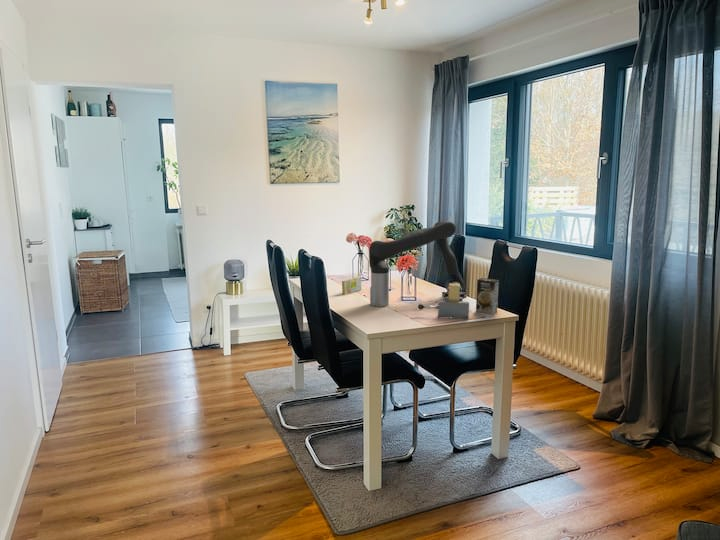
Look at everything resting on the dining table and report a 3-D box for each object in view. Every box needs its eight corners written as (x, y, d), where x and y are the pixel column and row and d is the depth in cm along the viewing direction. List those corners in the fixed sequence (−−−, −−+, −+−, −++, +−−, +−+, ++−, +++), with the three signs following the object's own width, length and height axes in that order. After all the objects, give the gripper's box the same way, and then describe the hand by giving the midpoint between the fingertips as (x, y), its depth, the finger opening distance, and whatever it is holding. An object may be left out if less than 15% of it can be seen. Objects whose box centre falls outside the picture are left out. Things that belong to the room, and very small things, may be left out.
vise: (417, 316, 256) (417, 301, 255) (419, 309, 271) (419, 294, 269) (468, 318, 252) (469, 303, 251) (468, 311, 266) (468, 296, 265)
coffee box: (475, 311, 266) (476, 279, 263) (480, 309, 271) (481, 277, 268) (493, 314, 261) (494, 281, 258) (497, 311, 266) (499, 279, 263)
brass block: (448, 316, 257) (448, 285, 254) (448, 313, 262) (449, 283, 259) (458, 316, 256) (459, 285, 254) (458, 314, 261) (459, 283, 258)
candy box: (358, 290, 317) (358, 276, 316) (361, 290, 316) (361, 276, 315) (341, 294, 304) (341, 280, 303) (344, 295, 303) (344, 281, 302)
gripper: (441, 283, 282) (440, 290, 266) (467, 284, 280) (468, 291, 263) (441, 297, 284) (440, 305, 267) (467, 298, 281) (467, 306, 265)
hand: (454, 298), depth 265 cm, fingers closed
